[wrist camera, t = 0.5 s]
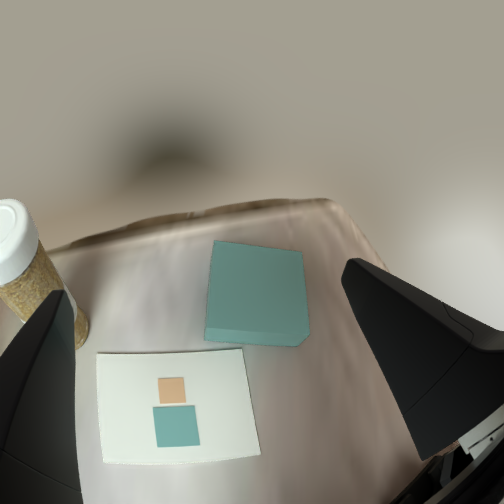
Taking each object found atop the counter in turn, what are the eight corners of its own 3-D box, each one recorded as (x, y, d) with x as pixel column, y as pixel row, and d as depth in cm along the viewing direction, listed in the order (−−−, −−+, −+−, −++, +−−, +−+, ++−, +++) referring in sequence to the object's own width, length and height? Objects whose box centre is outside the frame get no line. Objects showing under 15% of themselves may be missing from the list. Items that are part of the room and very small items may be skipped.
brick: (296, 346, 25) (309, 334, 22) (203, 340, 24) (206, 327, 21) (291, 269, 30) (301, 252, 27) (210, 259, 28) (214, 240, 26)
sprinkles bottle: (72, 364, 19) (-17, 283, 9) (36, 334, 20) (-50, 241, 9) (100, 321, 22) (43, 213, 12) (63, 295, 22) (2, 184, 12)
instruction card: (260, 454, 19) (261, 454, 19) (104, 462, 16) (103, 462, 15) (241, 349, 24) (242, 348, 23) (97, 354, 21) (96, 353, 20)
